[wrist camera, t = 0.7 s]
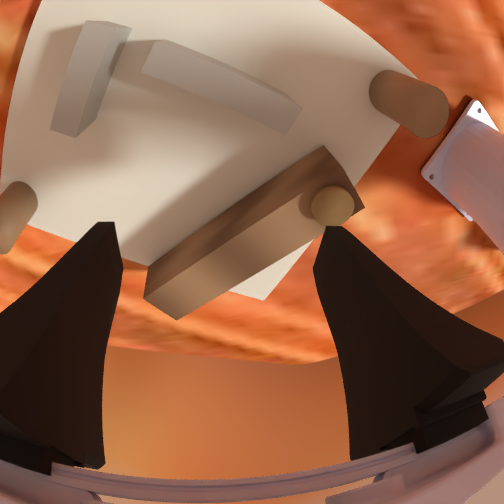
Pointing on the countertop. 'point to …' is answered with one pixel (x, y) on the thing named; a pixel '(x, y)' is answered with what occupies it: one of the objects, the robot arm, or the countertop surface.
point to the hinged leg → (253, 234)
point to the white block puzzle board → (191, 115)
